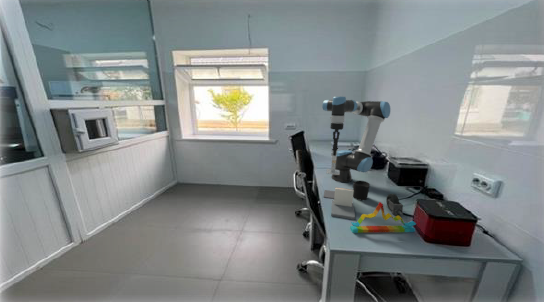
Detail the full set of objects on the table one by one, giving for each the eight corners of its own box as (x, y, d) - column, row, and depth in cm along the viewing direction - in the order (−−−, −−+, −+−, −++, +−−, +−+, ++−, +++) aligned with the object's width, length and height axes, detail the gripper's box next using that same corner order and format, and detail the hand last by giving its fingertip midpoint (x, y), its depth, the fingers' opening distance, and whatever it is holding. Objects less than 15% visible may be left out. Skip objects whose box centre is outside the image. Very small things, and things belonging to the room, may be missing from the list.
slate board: (332, 202, 128) (332, 200, 128) (352, 205, 125) (353, 203, 124) (331, 215, 113) (331, 213, 113) (354, 219, 110) (355, 217, 109)
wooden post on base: (326, 169, 140) (328, 143, 135) (339, 170, 137) (341, 144, 133) (326, 173, 132) (328, 146, 128) (339, 174, 130) (342, 147, 126)
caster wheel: (383, 206, 126) (396, 218, 111) (384, 191, 124) (398, 200, 109) (392, 207, 125) (407, 218, 110) (394, 191, 124) (409, 201, 109)
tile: (333, 203, 124) (335, 187, 122) (351, 205, 121) (353, 189, 119) (333, 204, 123) (335, 188, 121) (351, 206, 120) (353, 190, 118)
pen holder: (369, 201, 130) (371, 186, 127) (353, 200, 132) (355, 185, 129) (365, 195, 139) (367, 181, 136) (351, 193, 141) (352, 179, 138)
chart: (410, 228, 103) (415, 200, 100) (414, 232, 100) (420, 204, 97) (349, 229, 102) (352, 201, 99) (352, 233, 99) (355, 204, 96)
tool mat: (324, 190, 145) (324, 189, 145) (338, 192, 142) (338, 191, 142) (323, 197, 135) (323, 196, 135) (338, 199, 132) (338, 198, 132)
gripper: (331, 121, 135) (328, 156, 141) (330, 123, 121) (327, 162, 127) (343, 121, 133) (340, 157, 139) (343, 124, 119) (340, 163, 124)
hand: (334, 159), depth 133 cm, fingers closed on wooden post on base, 2 cm apart
